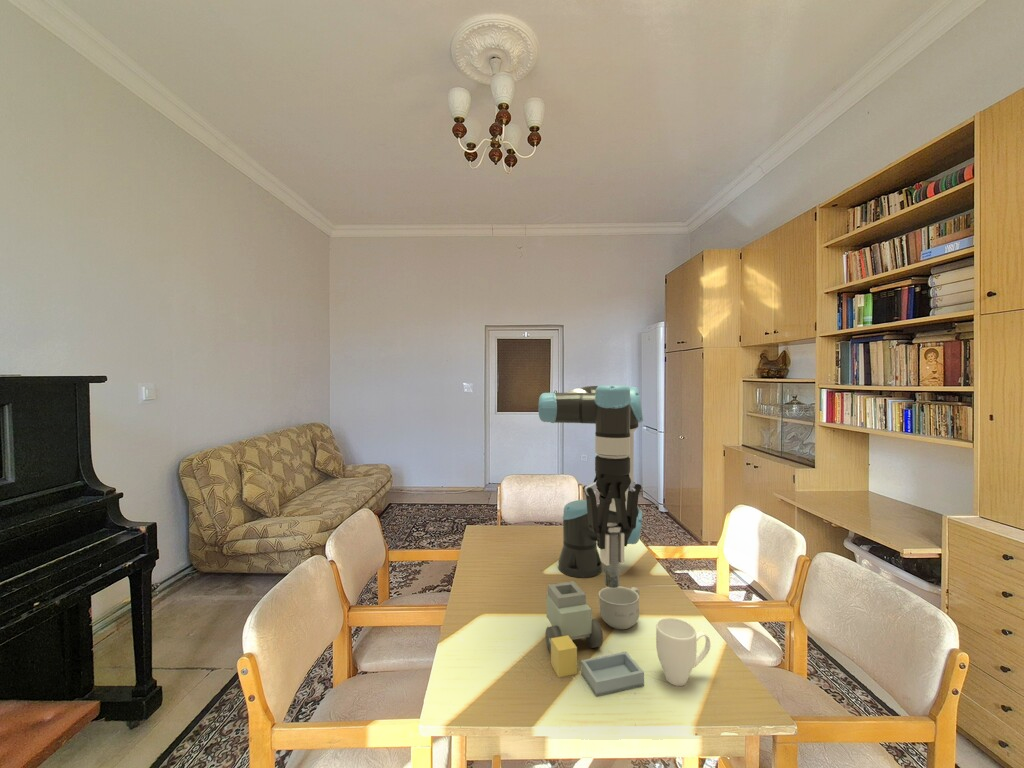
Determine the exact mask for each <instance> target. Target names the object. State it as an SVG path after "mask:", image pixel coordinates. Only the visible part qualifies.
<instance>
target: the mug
mask: <svg viewBox="0 0 1024 768" xmlns="http://www.w3.org/2000/svg"><path fill="white" fill-rule="evenodd" d="M655 628H656V629H655V636H656V637H655V644H656V645H655V646H656V654H657V656H658V660H659V663H660V665H661V668H662V671H663V674H664V677H665V680H666V681H667V682H668V683H670V684H671V685H673V686H675V687H676V686H677V687H682V686H685V685H686V684H687V682H688V680H689V677H690V674H691V672H692V670H693V669H694V668H696V667H697V666H699V664H700V663H701V662H703V660H704V659H705V658H707V655H708V654H709V652H710V650H711V639H710V637H709V635H708V634H707V633H706V632H705V631H701V630H700V631H696V628H694V626H693V625H691V624H690V623H688V622H687V621H684V620H682V619H678V618H671V617H668V618H667V617H665V618H662V619H660V620H658V621H657V622H656V625H655ZM702 637H704V638H705V644H704V647H703V650H701V652H700V653H699V654H698V655H697V649H698V648H697V645H698V644H697V643H698V641H699V639H700V638H702Z"/></svg>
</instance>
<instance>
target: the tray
mask: <svg viewBox="0 0 1024 768" xmlns="http://www.w3.org/2000/svg"><path fill="white" fill-rule="evenodd" d="M580 674H581V676H582V677H583V679H584V681H585V682H586V683H587V685H588V686H589V688H590V690H591V691H592V692H593V694H594V696H595V697H596V698H598V697H601V696H604V695H609V694H615V693H618V692H622V691H626V690H627V691H629V690H632V689H637V688H641V687H644V686H645V672H644V670H643V669H642V668H641V667H640V666H639V664H638V663H637V662H636V661H635V660H634V659H633V657H631V656H630V654H629V653H628V652H627V651H622V652H616V653H611V654H606V655H601V656H597V657H591V658H587V659H581V660H580Z"/></svg>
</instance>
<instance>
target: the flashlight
mask: <svg viewBox="0 0 1024 768" xmlns="http://www.w3.org/2000/svg"><path fill="white" fill-rule="evenodd" d="M619 532H621V525H620V524H617V523H607V530H606V533H607V534H608V535H609V565H607V566H606V565H605V564H604V567H605V569H604V570H605V571H604V577H605V578H604V584H605V586H606V587H611V588H616V587H619V586H620V562H619Z"/></svg>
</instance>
